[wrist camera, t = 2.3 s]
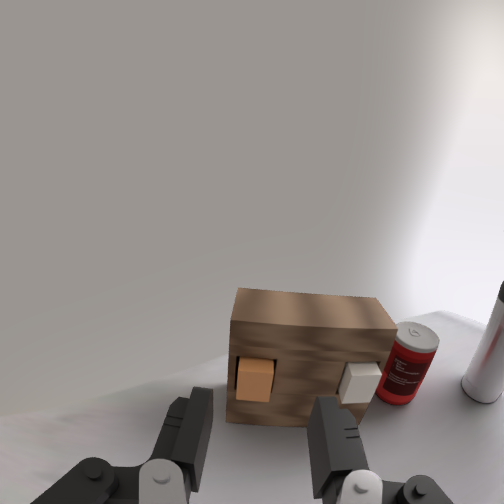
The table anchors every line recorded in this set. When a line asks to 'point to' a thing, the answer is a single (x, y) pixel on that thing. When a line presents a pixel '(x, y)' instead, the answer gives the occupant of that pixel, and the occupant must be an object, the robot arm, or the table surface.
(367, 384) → the white key
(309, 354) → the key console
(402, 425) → the table surface
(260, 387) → the orange key
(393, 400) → the canned food
